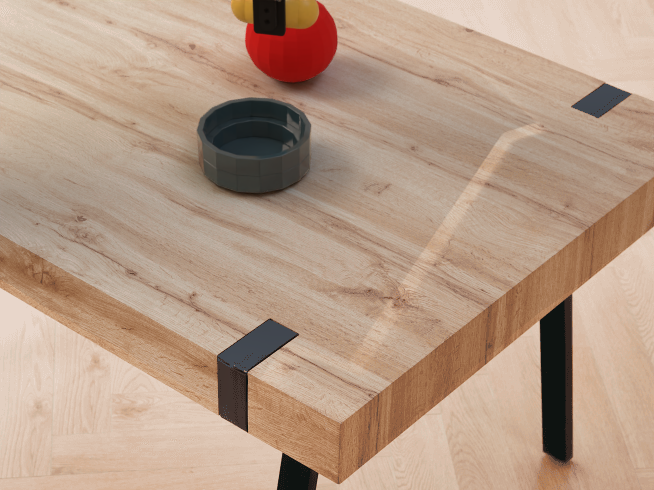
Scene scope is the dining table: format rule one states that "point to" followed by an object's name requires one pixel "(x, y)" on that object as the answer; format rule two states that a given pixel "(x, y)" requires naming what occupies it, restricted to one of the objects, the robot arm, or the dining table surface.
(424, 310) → the dining table surface
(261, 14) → the robot arm
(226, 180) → the bowl
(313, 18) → the yellow capsule
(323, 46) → the tomato
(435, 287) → the dining table surface
